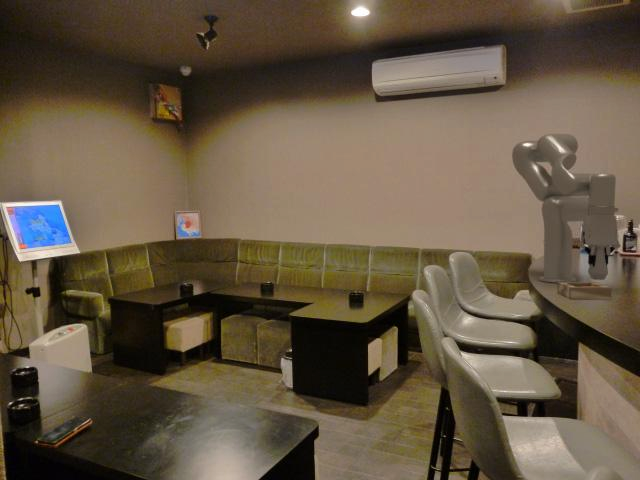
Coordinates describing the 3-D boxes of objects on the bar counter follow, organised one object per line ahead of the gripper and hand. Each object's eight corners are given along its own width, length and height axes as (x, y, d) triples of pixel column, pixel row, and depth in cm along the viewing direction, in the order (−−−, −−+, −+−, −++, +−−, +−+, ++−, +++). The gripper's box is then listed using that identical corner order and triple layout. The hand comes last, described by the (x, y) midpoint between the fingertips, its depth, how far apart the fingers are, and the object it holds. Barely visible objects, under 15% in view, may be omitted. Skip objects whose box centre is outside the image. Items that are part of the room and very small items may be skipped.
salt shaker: (602, 277, 171) (604, 239, 170) (610, 280, 166) (613, 241, 164) (584, 277, 172) (586, 239, 171) (592, 280, 166) (594, 240, 165)
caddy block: (557, 292, 164) (557, 281, 164) (594, 292, 163) (594, 281, 163) (571, 299, 153) (572, 287, 153) (611, 299, 152) (611, 287, 151)
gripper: (621, 210, 169) (618, 265, 171) (570, 211, 171) (567, 264, 173) (632, 212, 162) (629, 268, 164) (579, 212, 164) (576, 268, 166)
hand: (597, 266), depth 168 cm, fingers closed on salt shaker, 3 cm apart
